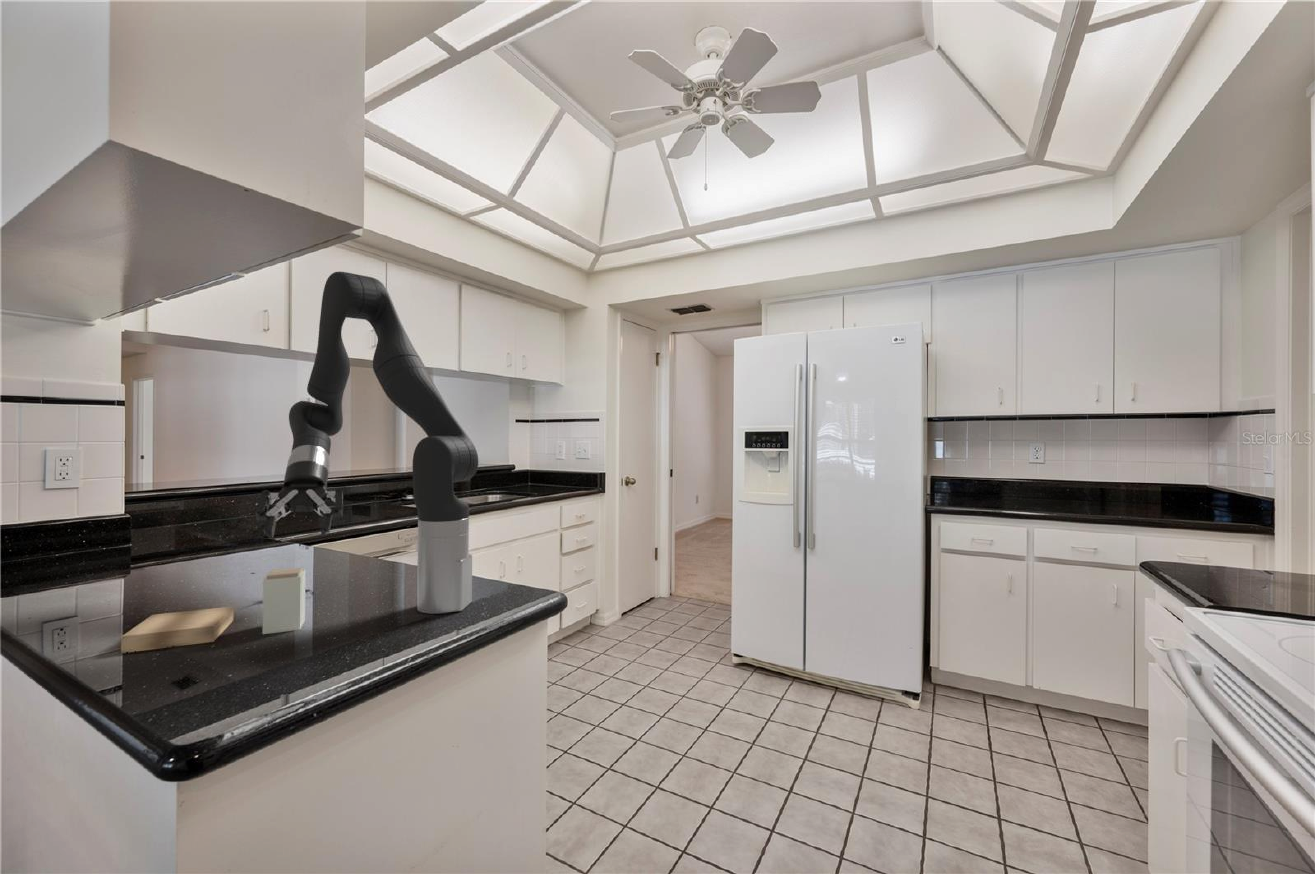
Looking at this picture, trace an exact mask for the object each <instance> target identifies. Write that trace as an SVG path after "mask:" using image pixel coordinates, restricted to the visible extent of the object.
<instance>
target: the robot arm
mask: <svg viewBox="0 0 1315 874" xmlns="http://www.w3.org/2000/svg"><path fill="white" fill-rule="evenodd" d="M322 291H323V292H322V298H321V307H320V316H319V324H318V325H319V327H318V339H317V347H316V348H317V349H316V352H315V353H316V354H315V359H314V362H313V363H314V364H313V367H312V368H311V369H312V370H311V373H310V376H309V380H308V384H307V386H306V388H307V389H306V391H307V393H308V395H309V396H310V397H311V398H313V399H315V400H316V401H319V402H321V403H323V404H321V403H316V402H313V401H306V400H302V401H301V400H300V401H298V402H296V403H294V404H293V405H292V406H291V408H290V409H289V411H288V413H289V414H288V421H289V423H288V424H289V427H290V430H291V433H292V438H293V440H292V447H291V451H290V455H289V457H288V460H287V465H286V470H285V475H284V479H283V482H282V483H283V484H282V489H281V490H279V492H270V490H268V489H264V490H262V491H261V493H260V496H259V498H258V499H259V500H258V503H257V506H256V509H255V516H256V520H257V521H258V522H263V521H265V522H264V525H263V526H264V527H263V532H264V535H265V536H267V537H268V538H267V539H273V538H274V535H275V531H276V527H277V521H279V520H280V519H281V518H285V517H286V516H287V515H289V514H290V513H291V512H292V514H293V513H296V514H297V513H302V512H304V513H311V512H313V511H315V512H316V514H318V515H319V516H321V517H322V518H321V523H320V534H321V535H320V536H326V535H327V533H330V532H331V526H332V520H333V519H335V518H342V517H343V514H344V511H343V510H344V494H343V489H342V488H341V487H338V488H335V490H331V491H328V490H327V487H328V478H329V473H330V454H331V445H332V440H331V438H330V437H333V436H335V435H337V434H338V433H339V432H341V429H342V427H343V423H344V421H343V404H342V403H343V398H344V397H343V396H344V393H345V390H346V386H347V383H348V379H349V377H350V372H351V371H350V370H351V363H350V362H351V361H350V358H349V355H348V352H347V350H346V347H345V345H344V342H343V336H342V330H343V325H344V323H345V320H346V318H347V319H348V318H349V319H356V320H365V321H366V322H368V323H369V324H370V325H371V327H372V328H373V330H374V333H375V335H376V338H377V343H376V347H375V350H374V354H373V358H372V370H373V373H374V375H375V377H376V379H377V380H378V383H379V384H380V387H381V388H382V390H383V392H384V394H385V395H386V397H387V398H388V399H389V400H390V401H391V403H393V404H394V405H395V406H396V407H397V408H398V409H400V411H402V412H403V413H404V414H405V415H406V416H407V417H409V418H410V419H411V420H412V421H414V422H415V423H416V424H417V425H418V426H420V428H421V429H422V430H423V432H424V433H425V434H426V437H424V438H423V439H421V440H420V441H419V442H418V443H417V444H416V446H415V448H414V451H413V457H412V484H413V485H412V486H413V488H412V489H413V501H414V505H415V508H416V511H417V581H416V582H417V585H416V592H417V594H416V601H417V602H416V603H417V604H416V606H417V607H416V609H417V611H418V612H420V613H421V614H422V613H424V614H431V615H432V614H433V615H434V614H447V613H452V612H462V611H463V610H465V608H467V606H469V605H470V604H471V603H472V602H473V554H471V553H470V551H469V549H470V544H469V543H470V542H469V541H470V505H469V504H468V502H467V501H464V500H462V499H460V498H458V497H457V496H456V495H455V491H454V483H458V482H464V481H468V480H470V479H471V478H473V477H474V476H475V474H476V473H477V471H478V468H479V455H478V452H477V449H476V446H475V445H474V443H473V441H472V440H471V438H470V437H469V436H468V434H467V433H466V432H465V430H464V429H463V427H462V426H461V425H460V423H459V422H458V420H457V419H456V418H455V416H454V415H453V413H452V412H451V410H450V408H449V407H448V405H447V403H446V401H445V400H444V399H443V398H444V397H442V395H441V393H440V391H439V390H438V388H437V386H436V385H435V383H434V380H433V379H432V376H431V375H430V373H429V371H428V370H427V368H426V365H425V364H424V363H423V361H422V359H421V356H420V355H419V354H418V352H417V351H416V349H415V347H414V345H413V344H412V342H411V340H410V337H409V336H408V334H407V332H406V330H405V328H404V325H403V324H402V322H401V320H400V316H399V315H398V312H397V310H396V307H395V305H394V303H393V300H392V298H391V296H390V293H389V292H388V289H387V288H386V286H385V285H384V283H383V282H381V281H380V280H379V279H377V278H374V277H372V276H368V275H361V274H356V273H352V272H347V271H335V272H333V273H331V274H330V275H329V276H328V278H327V279H326V281H325V283H324V288H323V290H322ZM329 498H330V499H331V501H332V502H334V508H330V507H329V506H328V505H327V504H326V500H328V499H329ZM276 500H278V501H277V502H276ZM274 502H276V503H275V505H274V506H273V507H272V508H271V509H270V510H269V507H270V505H273V504H274Z"/></svg>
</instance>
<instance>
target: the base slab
mask: <svg viewBox="0 0 1315 874" xmlns="http://www.w3.org/2000/svg"><path fill="white" fill-rule="evenodd" d="M234 607H235V606H233V605H232V606H224V607H214V608H205V609H204V608H203V609H195V610H185V611H176V612H167V613H156V614H151V615H150V616H149V617H147V618H145V619H144V620H143V621H141V622H140V623H139V624H137V625H136V626H134V627H133V628H131V629H130V630H129V631H127V632H126V633H124V634H123V635H121V638H120V639H121V640H120V641H121V642H120V646H121V647H120V654H126V652H128V653H134V652H135V651H136V652H142V651H151V650H152V651H153V650H158V649H164V648H165V649H167V647H168V648H173V647H172V646H175V647H182V646H191V645H197V644H206V643H211V642H212V643H213V642H215V640H217V639H218V637H219V636H220V635H221V634H222V633H223V632H224V631H225V630H226V629H227V628H228V627H229V626H230V624H232V622H233V621H234V610H235V609H234Z"/></svg>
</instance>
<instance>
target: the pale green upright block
mask: <svg viewBox="0 0 1315 874" xmlns="http://www.w3.org/2000/svg"><path fill="white" fill-rule="evenodd" d="M303 569H304V568H303V567H292V568H281V569H280V568H279V569H272V570H271V571H269V573H268V574H267V575H266V577H265V578H264V579H263V580H262V582H263V584H262V635H267V634H268V635H269V634H276V633H283V632H292V631H299V630H301V628H302V627H303V625H304V623H305V621H306V592H305V588H306V573H307V572H306V569H304V570H303Z"/></svg>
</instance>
